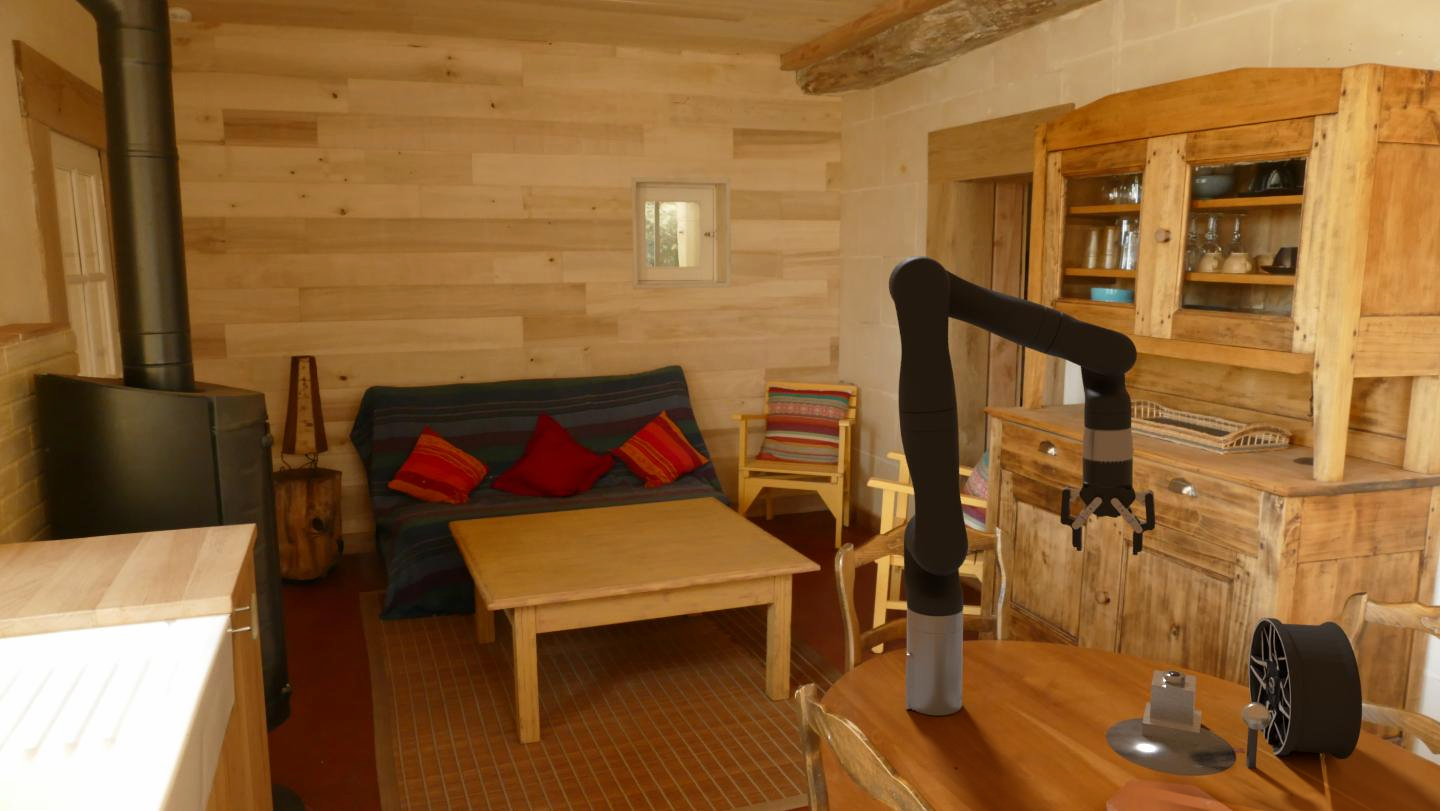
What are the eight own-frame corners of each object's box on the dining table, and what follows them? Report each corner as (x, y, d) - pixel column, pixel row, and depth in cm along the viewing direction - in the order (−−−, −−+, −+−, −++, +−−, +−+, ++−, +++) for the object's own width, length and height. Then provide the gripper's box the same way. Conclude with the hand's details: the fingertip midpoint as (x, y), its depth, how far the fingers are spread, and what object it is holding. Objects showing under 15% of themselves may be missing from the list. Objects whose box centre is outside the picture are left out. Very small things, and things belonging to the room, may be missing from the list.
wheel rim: (1245, 717, 165) (1252, 599, 162) (1307, 721, 163) (1315, 602, 160) (1286, 780, 146) (1294, 647, 143) (1357, 786, 144) (1367, 651, 141)
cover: (1141, 734, 158) (1144, 678, 156) (1146, 713, 165) (1148, 659, 163) (1198, 745, 154) (1201, 687, 153) (1200, 723, 161) (1203, 667, 160)
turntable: (1116, 772, 148) (1116, 769, 148) (1097, 716, 165) (1097, 713, 165) (1262, 784, 144) (1262, 780, 144) (1227, 725, 161) (1227, 722, 161)
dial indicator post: (1240, 779, 146) (1244, 705, 145) (1234, 768, 149) (1238, 695, 148) (1267, 781, 146) (1272, 706, 144) (1260, 770, 149) (1265, 697, 147)
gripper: (1058, 457, 163) (1058, 555, 165) (1155, 461, 157) (1153, 562, 159) (1063, 448, 169) (1063, 542, 172) (1156, 451, 163) (1155, 548, 166)
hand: (1107, 551), depth 166 cm, fingers open, 8 cm apart
